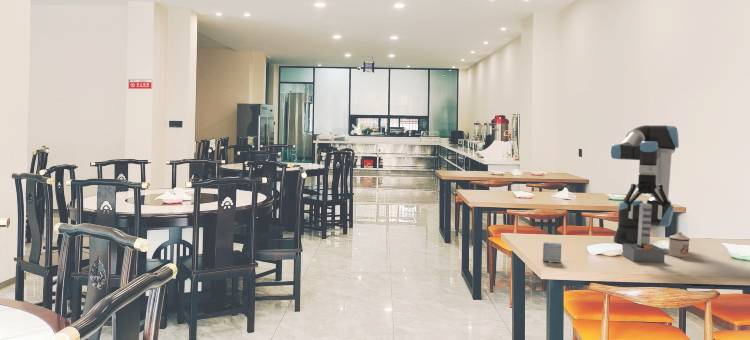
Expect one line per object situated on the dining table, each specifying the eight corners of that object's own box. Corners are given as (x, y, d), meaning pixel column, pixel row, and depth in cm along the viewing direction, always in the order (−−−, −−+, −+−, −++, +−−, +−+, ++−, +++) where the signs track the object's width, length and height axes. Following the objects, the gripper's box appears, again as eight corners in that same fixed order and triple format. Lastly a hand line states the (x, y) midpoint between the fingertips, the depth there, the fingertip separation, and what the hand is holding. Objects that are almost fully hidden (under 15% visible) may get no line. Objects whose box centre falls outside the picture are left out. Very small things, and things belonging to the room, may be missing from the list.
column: (637, 244, 282) (639, 203, 280) (645, 244, 281) (648, 203, 280) (641, 246, 277) (643, 204, 275) (650, 246, 277) (652, 204, 275)
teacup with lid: (683, 258, 284) (684, 234, 283) (664, 254, 291) (665, 231, 290) (694, 255, 291) (696, 232, 290) (676, 252, 298) (677, 229, 298)
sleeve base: (622, 255, 287) (622, 240, 287) (651, 256, 287) (652, 240, 286) (633, 261, 273) (634, 245, 273) (664, 262, 273) (665, 246, 272)
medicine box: (560, 261, 271) (561, 243, 270) (560, 263, 266) (561, 244, 266) (543, 259, 273) (543, 241, 272) (542, 261, 269) (543, 243, 268)
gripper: (623, 174, 274) (621, 219, 276) (678, 175, 273) (675, 220, 275) (617, 172, 281) (615, 216, 283) (670, 174, 280) (668, 217, 282)
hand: (644, 218), depth 279 cm, fingers open, 13 cm apart
